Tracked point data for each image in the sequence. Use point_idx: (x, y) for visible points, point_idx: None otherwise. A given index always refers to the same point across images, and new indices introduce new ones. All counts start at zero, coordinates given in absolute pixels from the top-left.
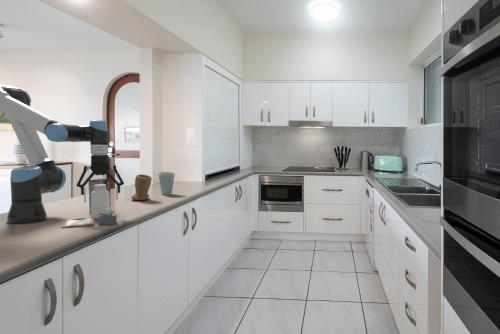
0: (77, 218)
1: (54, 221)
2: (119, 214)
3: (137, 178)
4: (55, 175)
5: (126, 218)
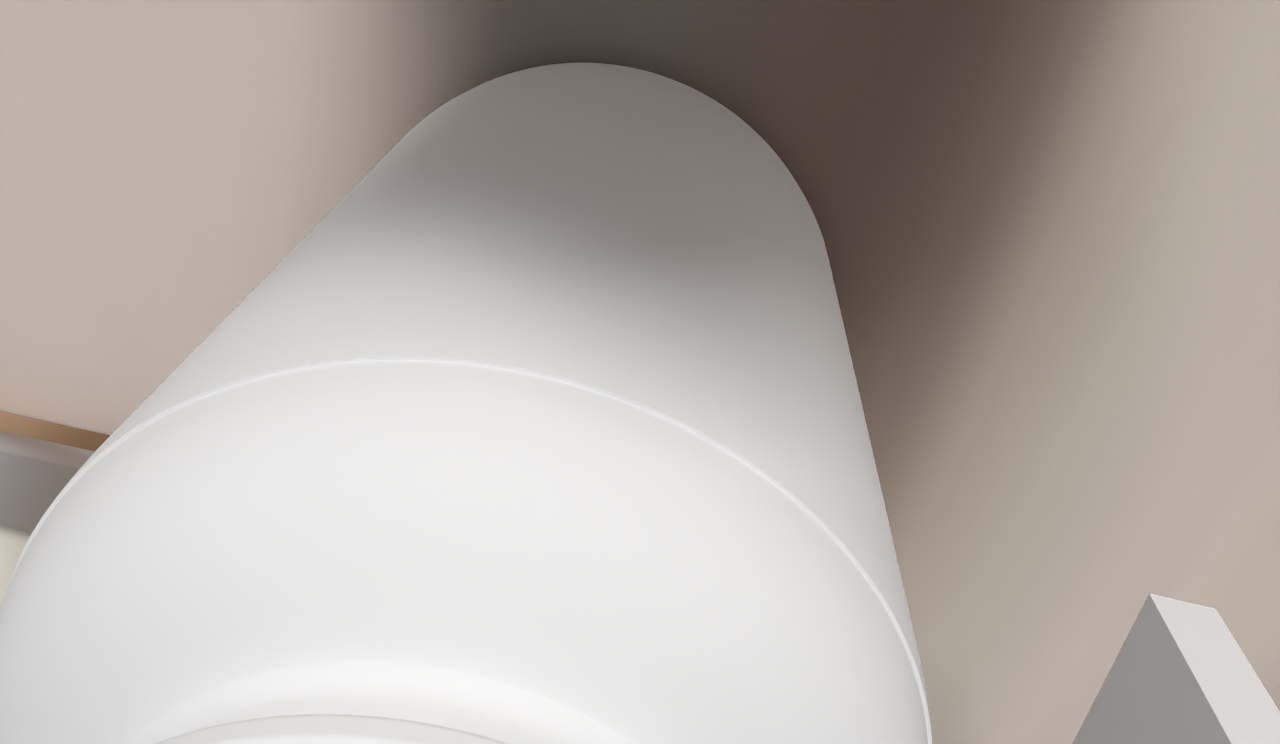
0: (7, 509)
1: None
2: (1186, 131)
3: None
4: None
5: (1056, 713)
